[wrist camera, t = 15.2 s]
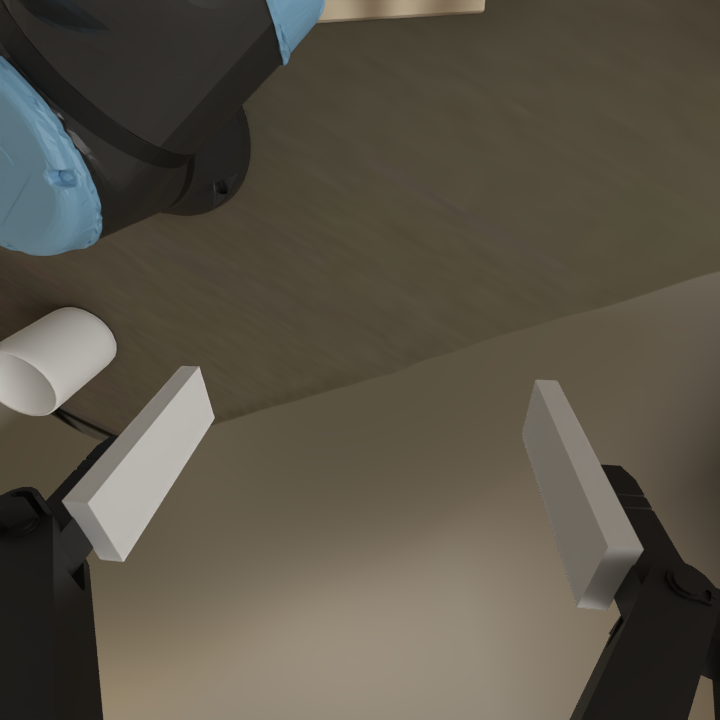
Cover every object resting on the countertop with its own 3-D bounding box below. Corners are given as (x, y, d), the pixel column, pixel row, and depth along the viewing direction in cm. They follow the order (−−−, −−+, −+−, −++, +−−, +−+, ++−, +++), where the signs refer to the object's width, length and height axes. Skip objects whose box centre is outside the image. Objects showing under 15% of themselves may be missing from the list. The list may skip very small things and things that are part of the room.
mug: (133, 353, 57) (74, 405, 47) (74, 375, 60) (9, 428, 51) (85, 295, 52) (10, 339, 43) (25, 323, 56) (-57, 369, 46)
